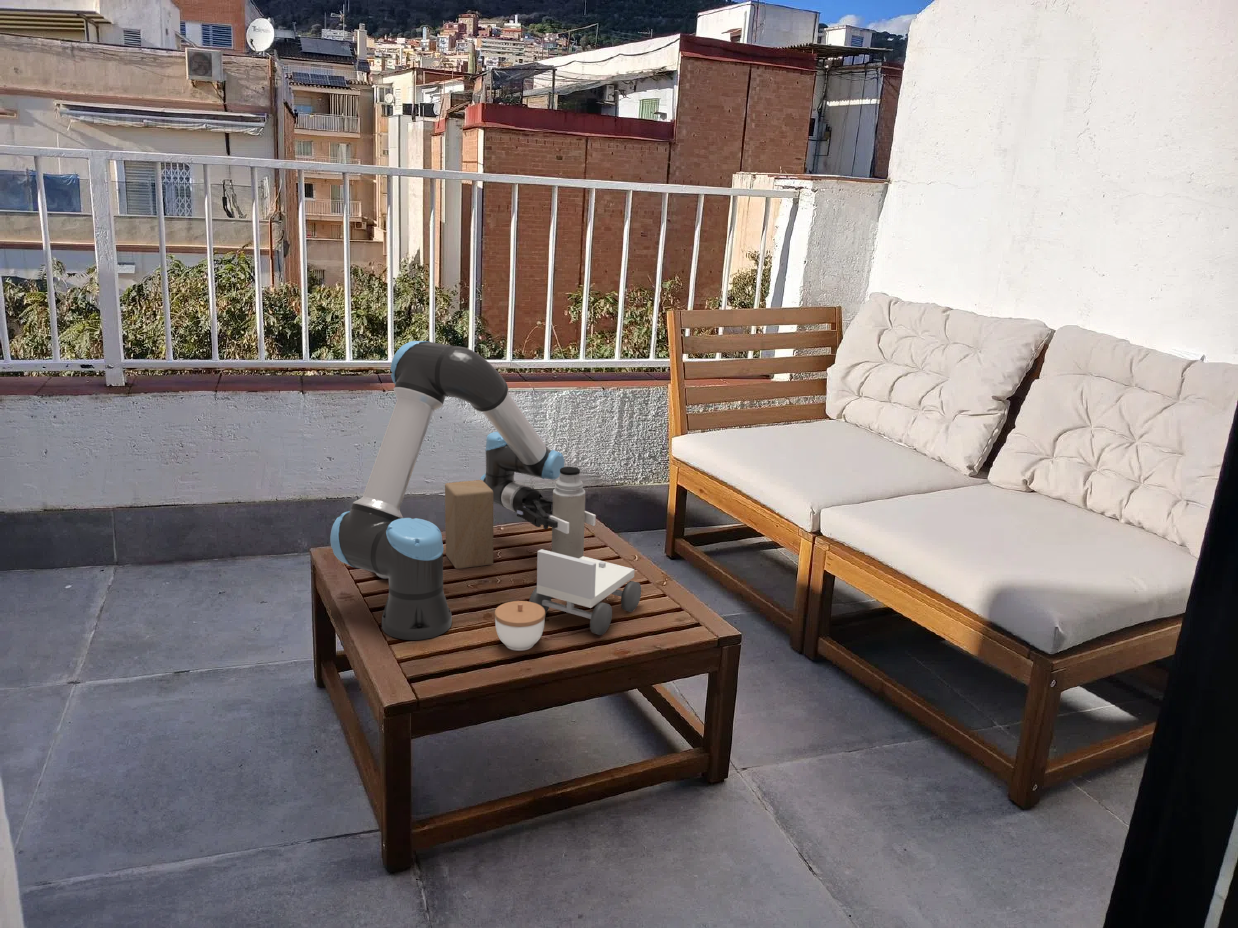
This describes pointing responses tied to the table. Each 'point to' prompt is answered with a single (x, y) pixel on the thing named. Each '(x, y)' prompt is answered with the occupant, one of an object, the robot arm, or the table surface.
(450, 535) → the wooden block
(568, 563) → the trolley
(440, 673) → the table surface
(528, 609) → the lidded jar
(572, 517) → the thermos bottle
